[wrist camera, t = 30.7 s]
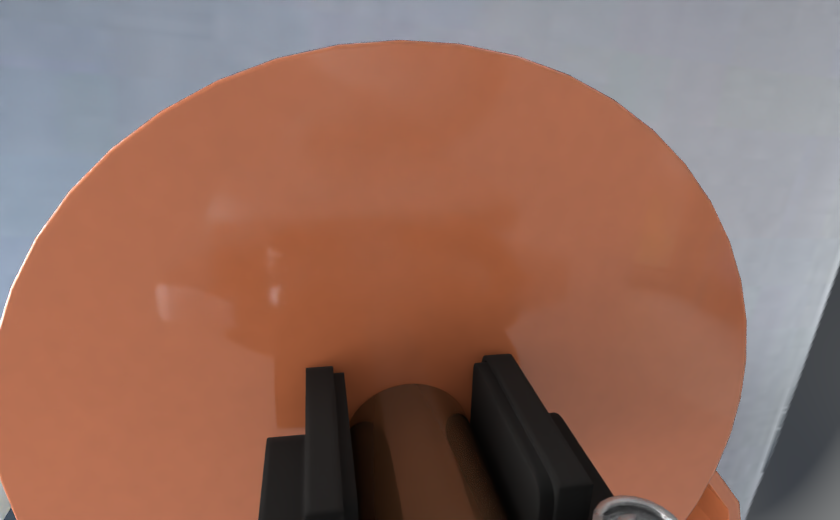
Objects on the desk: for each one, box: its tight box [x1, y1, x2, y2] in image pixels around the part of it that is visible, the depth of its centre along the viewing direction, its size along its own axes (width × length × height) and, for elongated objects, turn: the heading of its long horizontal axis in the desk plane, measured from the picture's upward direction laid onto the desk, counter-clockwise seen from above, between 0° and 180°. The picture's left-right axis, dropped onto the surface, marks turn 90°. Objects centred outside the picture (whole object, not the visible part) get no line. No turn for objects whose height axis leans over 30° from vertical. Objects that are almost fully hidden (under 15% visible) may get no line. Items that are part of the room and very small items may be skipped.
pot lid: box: [0, 40, 747, 520], centre depth 11 cm, size 15×15×6 cm
